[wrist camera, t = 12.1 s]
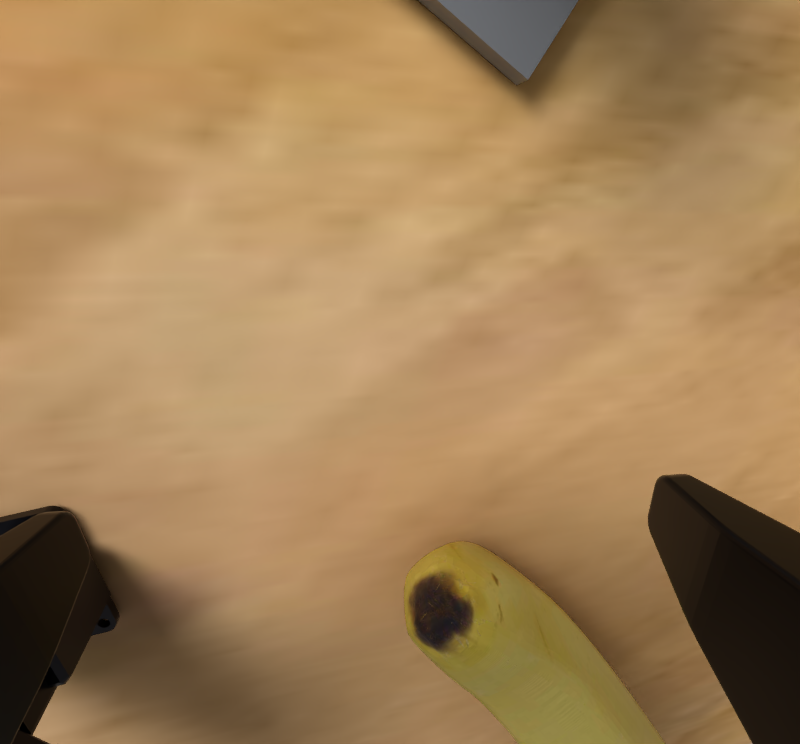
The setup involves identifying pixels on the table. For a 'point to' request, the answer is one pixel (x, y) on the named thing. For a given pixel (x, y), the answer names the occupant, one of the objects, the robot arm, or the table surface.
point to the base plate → (505, 29)
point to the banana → (517, 651)
